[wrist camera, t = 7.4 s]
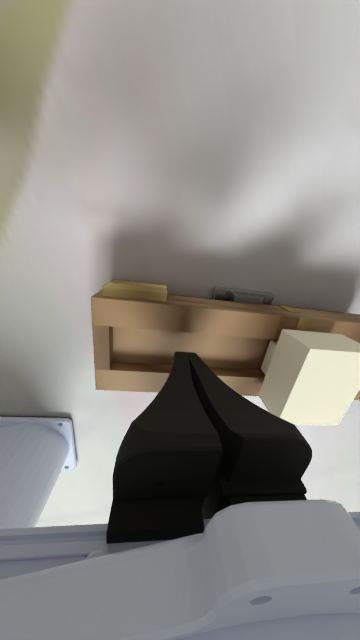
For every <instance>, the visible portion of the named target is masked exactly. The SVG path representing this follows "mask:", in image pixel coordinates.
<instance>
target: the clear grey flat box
mask: <svg viewBox="0 0 360 640" xmlns="http://www.w3.org/2000/svg"><path fill="white" fill-rule="evenodd" d="M273 296H274V295H273V294H271V293H264V292H255V291H246V290H237V289H228V288H219V287H214V291H213V297H212V299H213V300H223V301H233V302H242V303H252V304H262V305H271V302H272V299H273Z"/></svg>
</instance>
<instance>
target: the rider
mask: <svg viewBox="0 0 360 640" xmlns="http://www.w3.org/2000/svg"><path fill="white" fill-rule="evenodd" d="M261 370H262V371H263V372H264V374H265V375H266V376H265V378H264V381H263V384H262V387H261V389H260V392H259V397H260V398H261V400H262V402H263V403H264V405H265V406H266V408H267V410H268V411H269V413H271V414H273V415H275V416H277V417H279V418H282V419H284V420H286V421H288V422H290V423H292V424H294V425H326V426H338V424H339V423H340V421H341V420H342V418H343V416H344V415H345V413H346V411H347V410H348V408H349V406H350V405H351V403H352V402H353V400H354V398H355V397H356V395H357V393H358V392H359V390H360V343H358V342H356V341H354V340H352V339H350V338H348V337H346V336H344V335H342V334H334V333H322V332H311V331H299V330H288V329H282V331H281V334H280V337H279V340H278V341H274V340H270V343H269V346H268V349H267V352H266V355H265V358H264V361H263V363H262V366H261Z"/></svg>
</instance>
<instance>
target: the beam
mask: <svg viewBox="0 0 360 640" xmlns="http://www.w3.org/2000/svg"><path fill="white" fill-rule="evenodd" d="M102 287H103V289H102V290H101V291H99V292H98V293H96V294H95V295H93V296H92V297H91V308H92V327H93V345H94V364H95V382H96V390H110V391H135V392H160V390H161V389H162V387H163V386H164V384H165V382H166V380H167V378H168V376H169V374H170V372H171V369H172V367H173V361H174V354H175V352H176V351H179V352H194V353H196V354H197V355H198V356H199V357H200V358H201V360H202V361H203V362H204V363H205V364H206V365H207V366H208V367H209V368H210V369H211V370H212V371H213V372H214V373H215V374H216V375H217V376H218V377H219V378H220V379H221V380H222V381H223V382H224V383H225V384H227V385H228V386H229V387H230V388H232V389H233V390H234V391H236V392H237V393H238V394H240V395H245V396H259V392H260V389H261V387H262V384H263V381H264V378H265V376H266V375H265V374H264V372H263V371H262V370H261V366H262V363H263V361H264V358H265V355H266V352H267V349H268V346H269V343H270V340H274V341H278V340H279V337H280V334H281V331H282V329H288V330H299V331H311V332H322V333H334V334H342V335H344V336H346V337H348V338H350V339H352V340H354V341H356V342H358V343H360V315H359V314H349V313H339V312H330V311H320V310H310V309H301V308H291V307H289V306H282V305H279V306H271V305H262V304H252V303H242V302H233V301H223V300H213V299H203V298H194V297H184V296H174V295H167V285H159V284H149V283H140V282H131V281H122V280H111V281H110V282H108V283H107V284H105V285H104V286H102ZM359 397H360V390H359V392H358V393H357V395H356V397H355V398H354V400H358V399H359Z"/></svg>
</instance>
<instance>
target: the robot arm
mask: <svg viewBox="0 0 360 640" xmlns="http://www.w3.org/2000/svg"><path fill="white" fill-rule="evenodd" d="M311 458H312V450H311V447H310V445H309V444H308V443H307V441H306V440H305V438H304V437H303V436H302V434H301V433H300V432H299V430H298V429H297V428H296V426H295V425H294V424H292V423H290V422H288V421H286V420H284V419H282V418H279V417H277V416H275V415H273V414H271V413H269V412H267V411H266V410H264V409H262V408H260V407H258V406H257V405H255V404H253V403H252V402H250V401H249V400H247V399H246V398H244V397H243V396H241V395H240V394H238V393H237V392H236V391H234V390H233V389H232V388H230V387H229V386H228V385H227V384H225V383H224V382H223V381H222V380H221V379H220V378H219V377H218V376H217V375H216V374H215V373H214V372H213V371H212V370H211V369H210V368H209V367H208V366H207V365H206V364H205V363H204V362H203V361H202V360H201V358H200V357H199V356H198V355H197V354H196V353H194V352H179V351H176V352H175V354H174V361H173V367H172V369H171V372H170V374H169V376H168V378H167V380H166V382H165V384H164V386H163V387H162V389H161V390H160V392H159V393H158V395H157V396H156V397H155V399H154V400H153V401H152V402H151V403H150V405H149V406H148V407H147V408H146V409H145V410H144V411H143V412H142V413H141V414H140V415H139V416H138V417H137V418H136V419H135V420H134V421H133V422H132V423H131V425H130V427H129V429H128V431H127V433H126V435H125V437H124V439H123V441H122V443H121V446H120V448H119V451H118V454H117V457H116V462H115V467H114V472H113V502H112V507H111V512H110V517H109V522H108V524H94V525H73V526H52V527H35V526H36V524H37V522H38V520H39V517H40V515H41V513H42V511H43V509H44V507H45V504H46V502H47V500H48V498H49V496H50V493H51V491H52V489H53V487H54V485H55V483H56V480H57V478H58V476H59V474H60V472H61V470H73V469H75V468H76V466H77V460H76V452H75V444H74V436H73V428H72V421H71V420H70V419H68V418H36V417H0V640H360V512H347V511H346V510H345V508H344V507H343V506H342V505H341V504H339V503H337V502H335V501H329V500H307V499H306V497H305V495H304V494H306V492H307V491H306V488H305V486H304V484H303V483H302V481H301V477H302V476H303V474H304V472H305V470H306V469H307V467H308V465H309V463H310V461H311Z"/></svg>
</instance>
